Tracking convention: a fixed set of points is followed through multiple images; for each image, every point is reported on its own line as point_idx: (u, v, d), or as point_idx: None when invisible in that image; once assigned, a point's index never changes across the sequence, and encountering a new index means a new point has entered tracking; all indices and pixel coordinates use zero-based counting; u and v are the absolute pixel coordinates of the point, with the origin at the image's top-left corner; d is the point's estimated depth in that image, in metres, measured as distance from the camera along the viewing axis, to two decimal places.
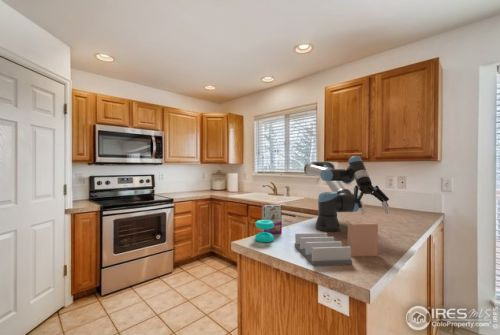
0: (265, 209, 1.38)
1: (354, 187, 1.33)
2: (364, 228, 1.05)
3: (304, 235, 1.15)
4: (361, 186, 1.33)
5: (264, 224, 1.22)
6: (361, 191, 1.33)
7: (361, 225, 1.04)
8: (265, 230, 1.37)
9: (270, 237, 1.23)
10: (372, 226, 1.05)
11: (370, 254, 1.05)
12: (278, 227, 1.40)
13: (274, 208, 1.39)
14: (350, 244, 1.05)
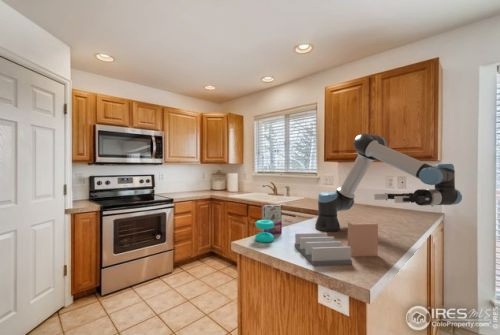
0: (265, 209, 1.38)
1: (428, 198, 1.04)
2: (364, 228, 1.05)
3: (304, 235, 1.15)
4: None
5: (264, 224, 1.22)
6: (416, 196, 1.07)
7: (361, 225, 1.04)
8: (265, 230, 1.37)
9: (270, 237, 1.23)
10: (372, 226, 1.05)
11: (370, 254, 1.05)
12: (278, 227, 1.40)
13: (274, 208, 1.39)
14: (350, 245, 1.05)
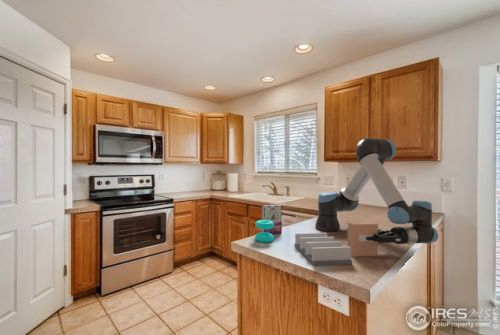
0: (265, 209, 1.37)
1: (399, 239, 1.02)
2: (364, 228, 1.05)
3: (304, 235, 1.15)
4: None
5: (264, 224, 1.22)
6: (389, 235, 1.06)
7: (361, 225, 1.04)
8: (265, 230, 1.37)
9: (270, 237, 1.23)
10: (372, 226, 1.05)
11: (370, 254, 1.05)
12: (278, 227, 1.40)
13: (274, 208, 1.39)
14: (350, 244, 1.05)
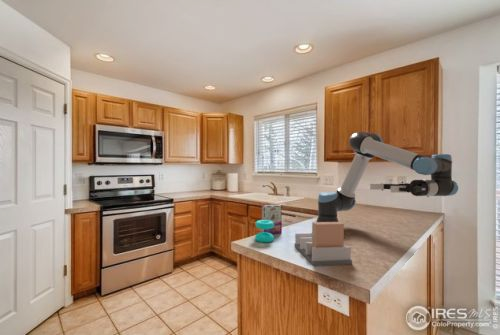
0: (265, 209, 1.38)
1: (424, 188, 1.02)
2: (329, 228, 0.97)
3: (304, 235, 1.15)
4: None
5: (264, 224, 1.22)
6: None
7: (325, 225, 0.97)
8: (265, 230, 1.37)
9: (270, 237, 1.23)
10: (337, 226, 0.98)
11: None
12: (278, 227, 1.40)
13: (274, 208, 1.39)
14: (314, 246, 0.98)
